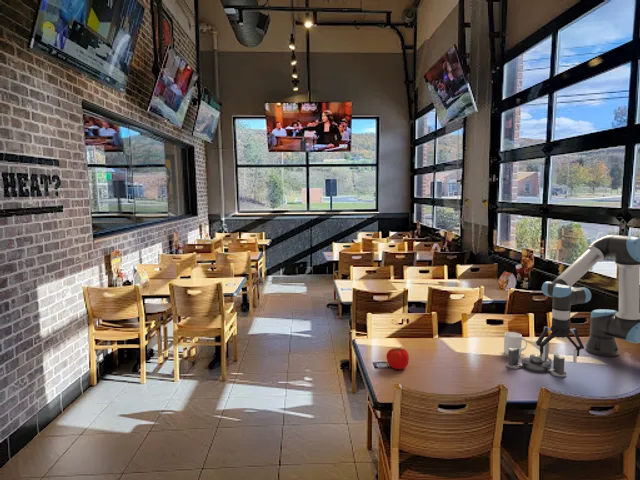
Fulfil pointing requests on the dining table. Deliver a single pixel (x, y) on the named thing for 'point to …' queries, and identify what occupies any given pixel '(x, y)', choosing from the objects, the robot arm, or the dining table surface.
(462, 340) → the dining table surface
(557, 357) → the knob
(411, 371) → the dining table surface
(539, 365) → the tribrach
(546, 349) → the knob
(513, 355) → the dark grey angled finger
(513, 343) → the mug
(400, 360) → the tomato
